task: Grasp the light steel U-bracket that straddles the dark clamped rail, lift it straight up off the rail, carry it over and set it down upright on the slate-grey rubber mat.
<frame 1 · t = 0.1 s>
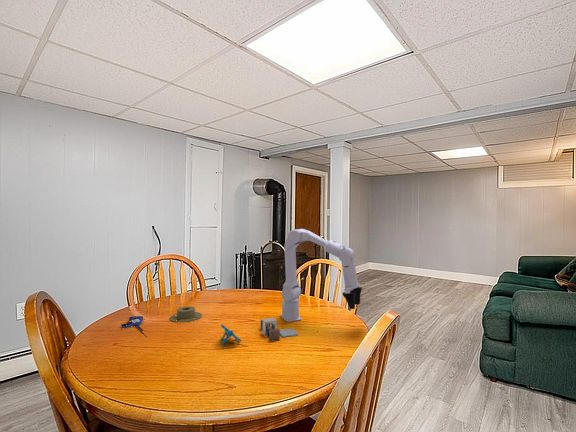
hand: (354, 306, 132), 11 cm above the table, tool pointing down, fingers open, 7 cm apart
blue lobed piece: (230, 342, 120), on the table
flange: (186, 318, 149), on the table
bracket: (269, 334, 128), resting in rail
mat: (287, 333, 129), on the table
bar clamp: (138, 332, 131), on the table
rail: (269, 334, 128), on the table
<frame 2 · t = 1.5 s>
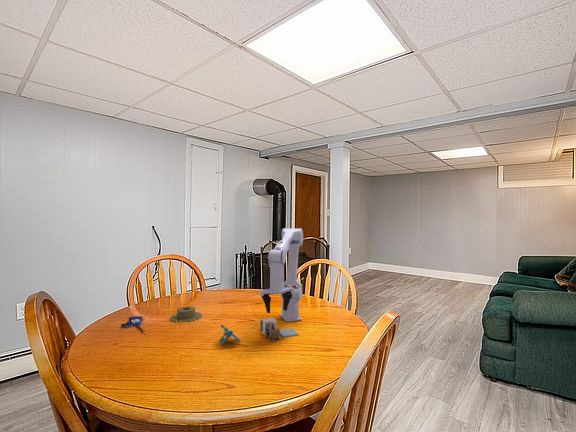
hand: (276, 311, 126), 10 cm above the table, tool pointing down, fingers open, 7 cm apart
nothing on the table moved.
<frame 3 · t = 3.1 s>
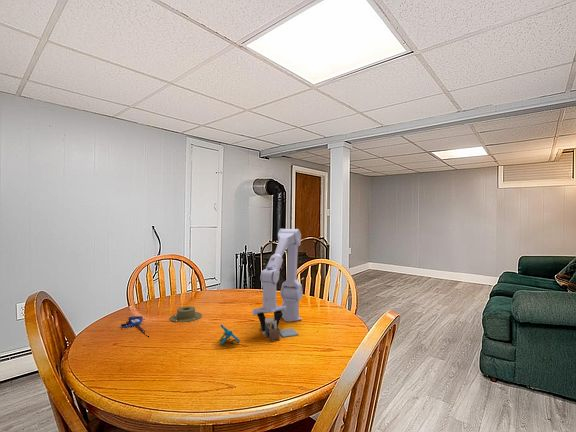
hand: (269, 329, 128), 2 cm above the table, tool pointing down, fingers closed on bracket, 5 cm apart
bracket: (269, 334, 128), resting in rail, touching gripper
everything else where it was.
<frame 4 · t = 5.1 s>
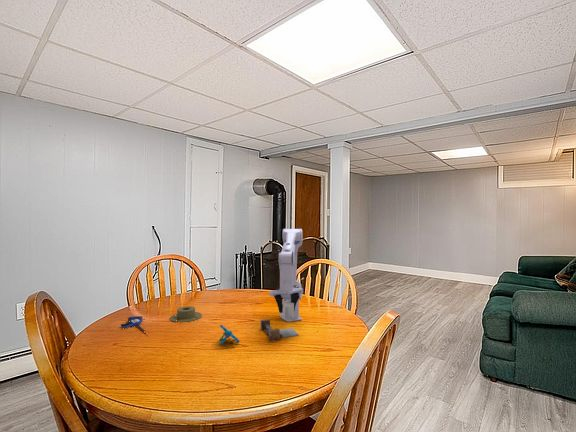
hand: (286, 311, 129), 9 cm above the table, tool pointing down, fingers closed on bracket, 5 cm apart
bracket: (286, 316, 129), point 7 cm above the table, touching gripper
everything else where it was.
when the fingers open (4 cm above the table, at t = 6.8 s): bracket stays where it is, resting on mat.
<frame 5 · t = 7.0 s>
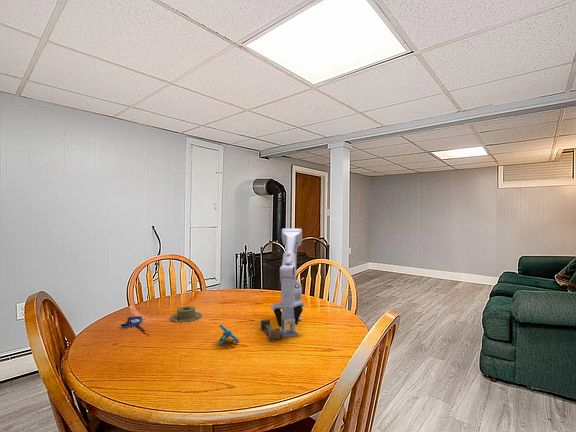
hand: (287, 325, 129), 4 cm above the table, tool pointing down, fingers open, 7 cm apart
bracket: (287, 332, 129), point 1 cm above the table, touching mat
everything else where it was.
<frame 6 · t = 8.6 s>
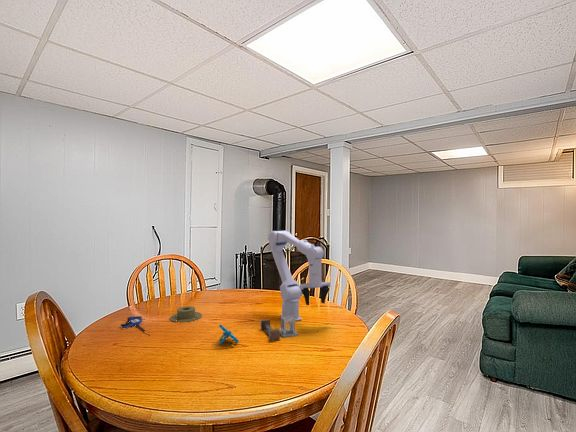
hand: (315, 303, 137), 10 cm above the table, tool pointing down, fingers open, 7 cm apart
nothing on the table moved.
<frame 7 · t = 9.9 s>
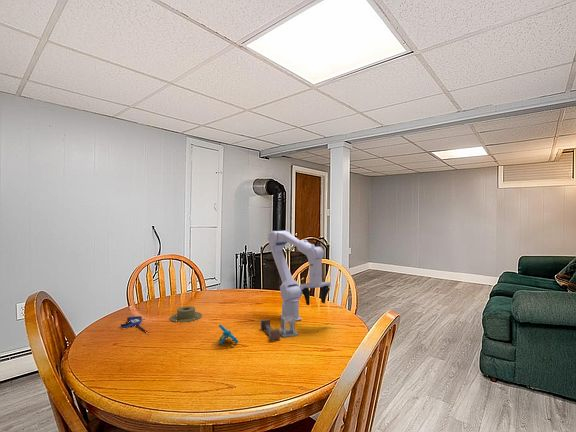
hand: (315, 303, 137), 10 cm above the table, tool pointing down, fingers open, 7 cm apart
nothing on the table moved.
at the end: bracket inside the target area on the mat (0.1 cm from its centre), point 0.6 cm above the mat's base; bracket tilted 0°; bracket touching mat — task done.
